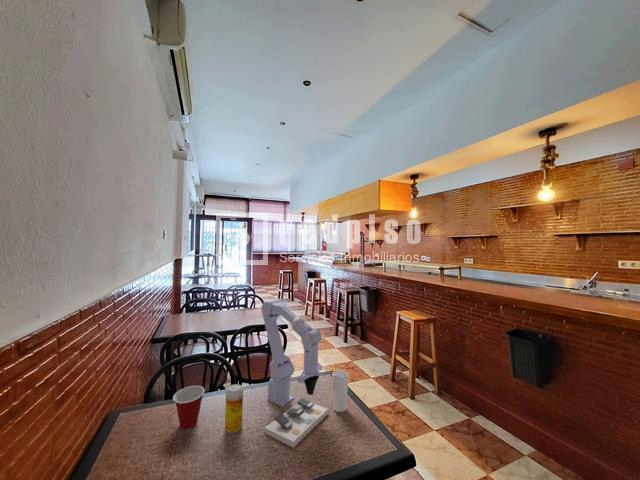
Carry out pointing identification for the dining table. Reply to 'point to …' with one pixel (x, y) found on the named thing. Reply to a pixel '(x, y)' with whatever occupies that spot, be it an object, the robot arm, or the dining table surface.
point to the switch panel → (297, 425)
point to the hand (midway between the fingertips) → (310, 393)
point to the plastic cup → (188, 405)
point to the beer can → (234, 408)
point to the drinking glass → (339, 390)
